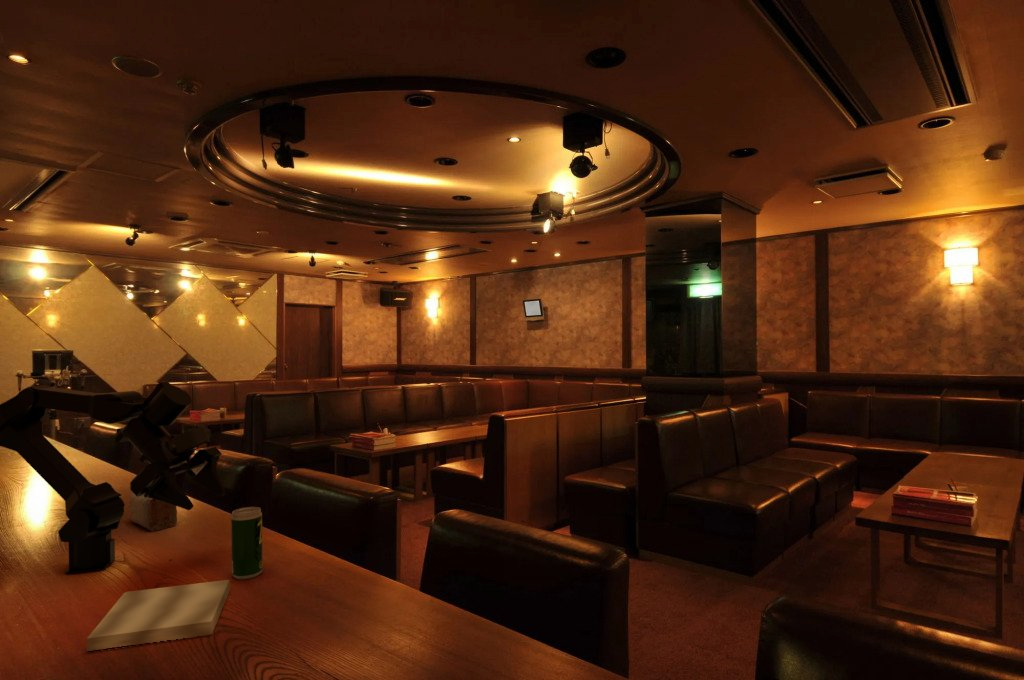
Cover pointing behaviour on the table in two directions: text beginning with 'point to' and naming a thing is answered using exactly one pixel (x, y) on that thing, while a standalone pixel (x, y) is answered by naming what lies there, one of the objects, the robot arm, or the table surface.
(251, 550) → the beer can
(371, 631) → the table surface
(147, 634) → the serving board
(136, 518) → the food item
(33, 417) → the robot arm
